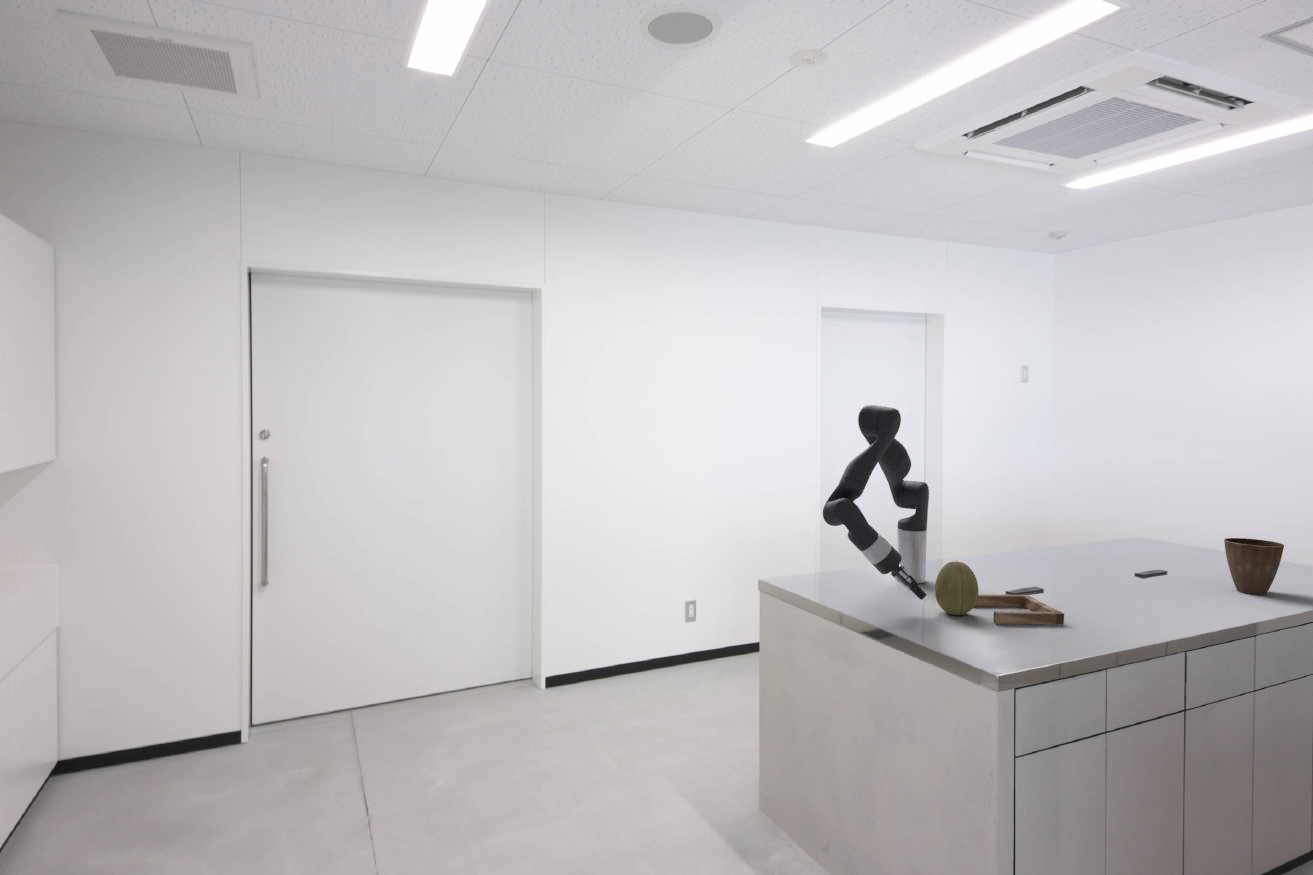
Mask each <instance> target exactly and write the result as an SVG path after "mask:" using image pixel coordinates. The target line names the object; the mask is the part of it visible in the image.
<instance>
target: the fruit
mask: <svg viewBox="0 0 1313 875" xmlns="http://www.w3.org/2000/svg"><path fill="white" fill-rule="evenodd" d="M973 571H974V570H972V569H971V567H969V565H968V564H966V563H964V562H962V561H957V560H955V561H950V562H949V561H948V562H947V563H946V564H945V565H944V566H942V568H941V569H940V570H939V572H938V574H937V576H936V579H935V585H934V594H935V598H936V601H937V604H938V606H939V607H940V608H941V610H942V611H943V612H945V613H947V614H948V615H951V616H962V615H966V614H968V613H970V612H971V611H972V610H973V609H974V608H975V607H974V606H975V604H976V602H977V599H978V595H979V584H978V579H977V576H976V575H975V573H974V572H973Z"/></svg>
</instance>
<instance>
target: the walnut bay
mask: <svg viewBox="0 0 1313 875" xmlns="http://www.w3.org/2000/svg"><path fill="white" fill-rule="evenodd" d="M976 607H982V608H983V607H989V608H991V607H993V608H994V607H999V608H1001V607H1007V608H1010V607H1013V608H1015V607H1018V608H1019V607H1021V608H1022V607H1023V608H1025V609H1027V610H1028V611H1013V610H1012V611H1009V610H1007V611H1004V610H1003V611H999V610H998V611H993V623H994V624H995V625H999V626H1000V625H1003V626H1004V625H1005V626H1006V625H1009V626H1010V625H1015V626H1016V625H1020V626H1022V625H1023V624H1025V625H1027V626H1029V625H1028V624H1031V625H1030V626H1035V625H1034V624H1057V626H1059V625H1058V624H1064V623H1065V613H1063V612H1061V611H1060V610H1058V609H1057V608H1054V607H1052V606H1050V605H1048V604H1046V603H1044V602H1041V601H1040V600H1039V599H1036V598H1035V597H1032V596H1031V595H1029V594H978V599H977V602H976V604H975V606H974V607H973V608H976ZM1025 625H1023V626H1025Z"/></svg>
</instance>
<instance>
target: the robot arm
mask: <svg viewBox="0 0 1313 875" xmlns="http://www.w3.org/2000/svg"><path fill="white" fill-rule="evenodd" d="M857 418H858V419H857V420H858V421H857V422H858V423H857V424H858V428H859V430H860V432H861V434H862V435H863V437H864V438H865V441H866V442H867V443H868V445H869V446H868V447H867V448H866V449H864V450H863V451H861V452H860V453H859V454H857V455H856V456H855V457H854V458H853V459H852V460H850V461H849V463H848V464H847V465H846V467H845V469H844V471H843V474H842V475H841V477H840V481H839V482H838V484H837V486H836V488H835V489H834V490H833V491H832V493H831V494H830V495H829V497H828V498H827V499H826V502H825V504H824V506H823V510H822V518H823V520H824V522H825V523H826V524H827V525H829V526H832V527H837V526H842V525H843V526H844V527H845V528H846V529H847V530H848V533H847V538H848V540H849V541H850V542H851V543H852V544H853V545H854V546H855V547H856V548H857V549H858V551H860V552H861V553H862V555H863V557H865V558H866V560H867V561H868V562H870V564H871V565H872V566H873V567H874V568H875V569H876V570H877V571H878V572H879V573H880V574H882V575H887V574H890V575H891V577H893V578H894V579H895V580H897V581H898V582H899V583H900V584H901V585H903V587H906V588H907V590H909V591H911V592H912V593H913V594H914V595H915V596H916V598H918V599H919V600H921V601H922V600H924V598H926V596H927V594H926V592H925V591H924V590H923V589H922V588H921V587H920V586H919V584H922V583H926V581H927V580H926V578H927V576H926V575H927V541H928V540H927V537H928V533H927V532H928V517H929V514H928V513H929V502H930V488H929V485H928V484H927V482H924V481H916V480H915V481H914V480H904V479H905V478H906V477H907V476H908V474H909V473H910V471H911V469H912V468H911V467H912V461H911V460H912V459H911V457H910V456H909V453H908V451H907V449H906V447H905V446H904V445H903V444H902V443H901V442H900V441H899V440H897V439H896V438H895V437H896V436H897V434H898V432H899V429H900V428H901V423H902V417H901V412H900V411H899V409H897V408H894V407H890V406H885V405H884V406H883V405H877V404H866V405H865V406H863V407H862V408H861V409H860V410H859V412H858V416H857ZM878 464H879V467H880V469H881V471H882V472H883V474H884V477H885V479H886V481H887V483H888V485H889V489H890V494H891V496H892V499H893V502H894V504H895V505H896V506H897V507H898V508H900V509H910V510H915V512H914V514H913V515H911V516H908V517H904V518H901V519H899V520H898V521H897V543H896V545H897V546H896V547H897V548H894V546H893V545H891V543H889V541H888V540H887V539H886V538H885V537H883V536H882V535H881V534H879V532H877V530H876V529H875V528H873V527H872V526H871V525H870V524H869V522H868V520H867V519H866V516H865V515H864V514H863V512H862V510H861V509H860V507H859V506H858V505H857V504H856V503H855V501H856V500H857V499H859V498H860V497H861V496H862V494H863V493H864V490H865V489H866V486H867V485H868V482H869V480H870V478H871V475H872V474H873V471H874V470H875V468H876V466H878Z"/></svg>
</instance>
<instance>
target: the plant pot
mask: <svg viewBox="0 0 1313 875" xmlns="http://www.w3.org/2000/svg"><path fill="white" fill-rule="evenodd" d="M1223 543H1224V550H1225V556H1226V561H1227V565H1228V569H1229V572H1230V573H1229V574H1230V577H1231V579H1232V582H1233V583H1234V584H1233V585H1234V588H1235V589H1236V591H1237V592H1239V593H1243V594H1247V595H1248V594H1249V595H1257V596H1258V595H1259V596H1264V595H1265V596H1266V595H1267V594H1268V592H1269V590H1270V588H1271V586H1272V584H1273V582H1274V580H1275V578H1276V575H1277V573H1278V570H1279V567H1280V564H1281V560H1282V557H1283V552H1284V548H1285V544H1283V543H1282V542H1278V541H1277V542H1276V541H1271V540H1265V539H1257V538H1245V537H1242V538H1241V537H1230V538H1229V537H1228V538H1223Z"/></svg>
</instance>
